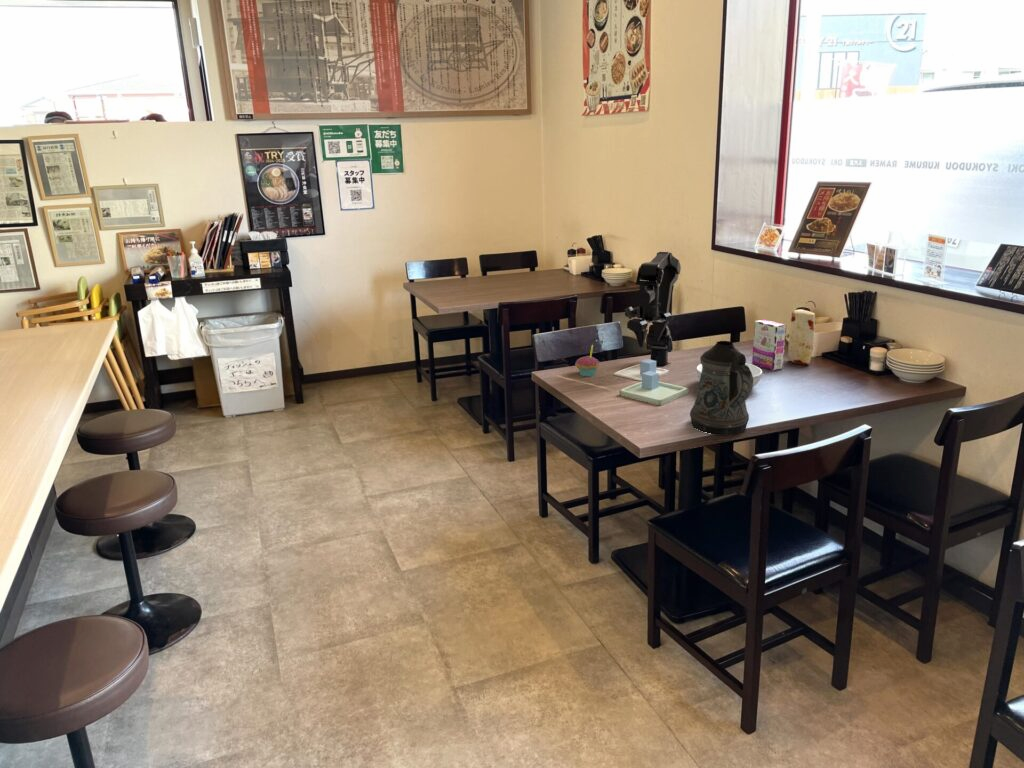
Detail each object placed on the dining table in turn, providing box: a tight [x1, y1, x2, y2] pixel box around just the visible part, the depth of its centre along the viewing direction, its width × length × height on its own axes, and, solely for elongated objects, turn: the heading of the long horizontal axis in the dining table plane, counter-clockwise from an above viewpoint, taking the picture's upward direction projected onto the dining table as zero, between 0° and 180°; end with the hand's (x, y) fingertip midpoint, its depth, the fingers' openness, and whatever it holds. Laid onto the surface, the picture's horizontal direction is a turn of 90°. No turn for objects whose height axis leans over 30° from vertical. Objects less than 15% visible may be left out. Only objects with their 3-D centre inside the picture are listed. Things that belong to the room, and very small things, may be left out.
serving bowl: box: [696, 362, 763, 389], centre depth 249 cm, size 21×21×7 cm
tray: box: [618, 380, 689, 407], centre depth 246 cm, size 16×16×2 cm
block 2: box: [642, 371, 660, 390], centre depth 249 cm, size 4×4×5 cm
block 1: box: [639, 358, 657, 375], centre depth 264 cm, size 4×4×5 cm
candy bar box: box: [751, 319, 787, 372], centre depth 269 cm, size 11×5×16 cm, turn 25°
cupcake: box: [574, 344, 600, 377], centre depth 266 cm, size 9×8×12 cm
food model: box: [787, 308, 816, 366], centre depth 271 cm, size 10×7×20 cm
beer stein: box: [689, 340, 754, 436], centre depth 213 cm, size 16×19×25 cm
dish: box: [612, 363, 670, 382], centre depth 267 cm, size 15×13×1 cm
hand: (649, 344), depth 261 cm, fingers open, 9 cm apart
